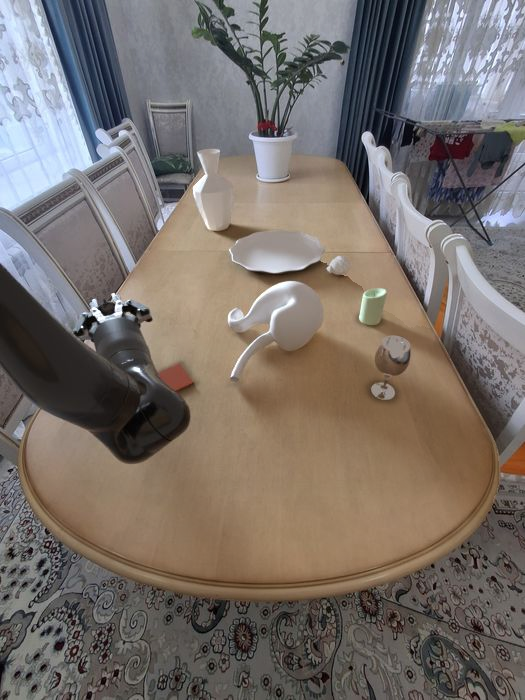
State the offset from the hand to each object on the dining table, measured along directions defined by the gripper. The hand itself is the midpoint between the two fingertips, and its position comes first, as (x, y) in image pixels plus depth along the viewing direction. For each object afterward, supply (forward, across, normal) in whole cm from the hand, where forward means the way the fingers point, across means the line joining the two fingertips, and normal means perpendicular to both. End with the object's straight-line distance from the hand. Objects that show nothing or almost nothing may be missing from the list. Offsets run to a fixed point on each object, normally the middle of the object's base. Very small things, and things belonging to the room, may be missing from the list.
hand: (104, 300), depth 67 cm
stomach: (-12, -30, +16) cm, 36 cm away
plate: (+25, -52, +16) cm, 60 cm away
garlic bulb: (+5, -60, +16) cm, 63 cm away
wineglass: (-35, -41, +16) cm, 56 cm away
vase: (+58, -46, +15) cm, 75 cm away
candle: (-16, -54, +16) cm, 59 cm away
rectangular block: (-12, -1, +16) cm, 19 cm away
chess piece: (-3, 0, +10) cm, 11 cm away
